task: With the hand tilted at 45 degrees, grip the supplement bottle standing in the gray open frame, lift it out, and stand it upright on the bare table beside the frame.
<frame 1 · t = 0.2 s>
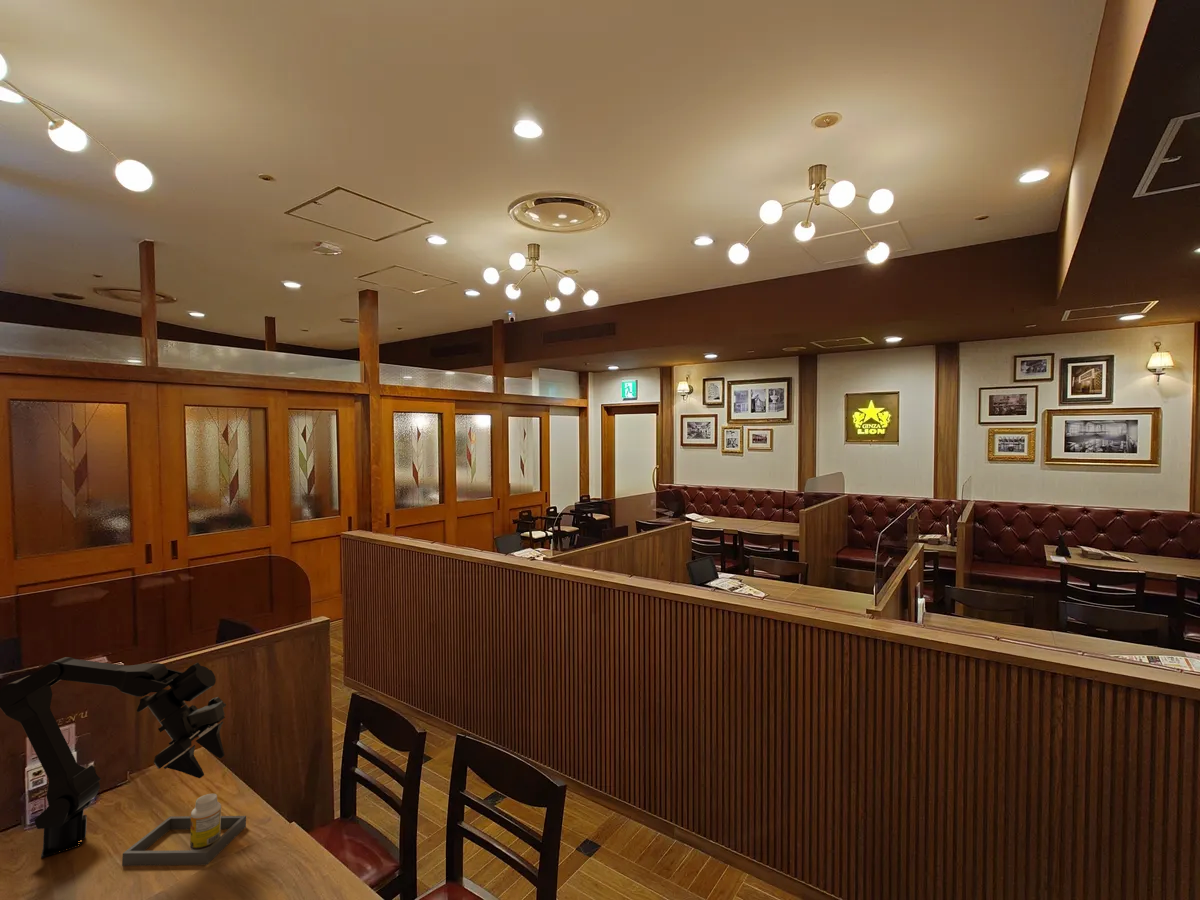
hand: (212, 766, 130), 14 cm above the table, tool tilted 35°, fingers open, 9 cm apart
supplement bottle: (205, 846, 124), resting in gray open frame
gray open frame: (187, 845, 124), on the table
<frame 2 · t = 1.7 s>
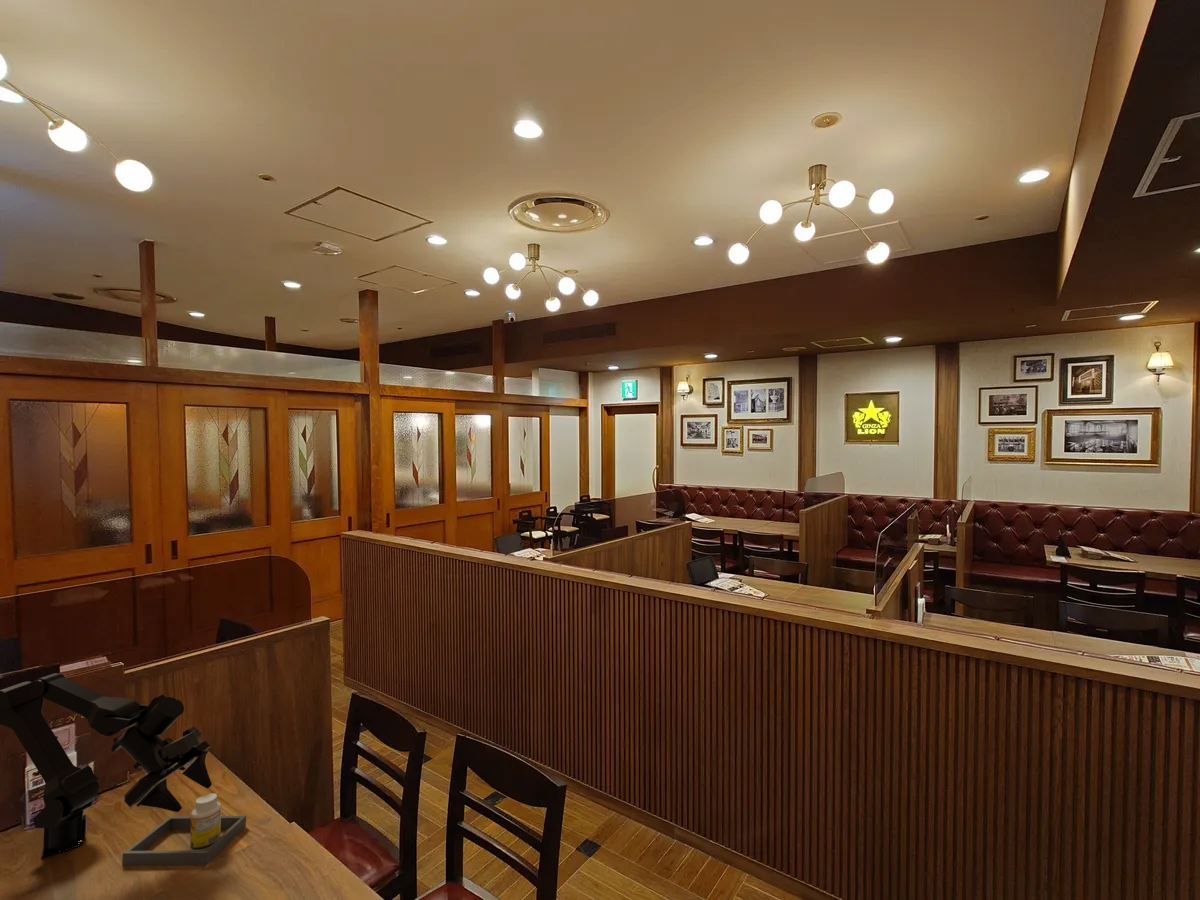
hand: (195, 798, 125), 10 cm above the table, tool tilted 45°, fingers open, 9 cm apart
nothing on the table moved.
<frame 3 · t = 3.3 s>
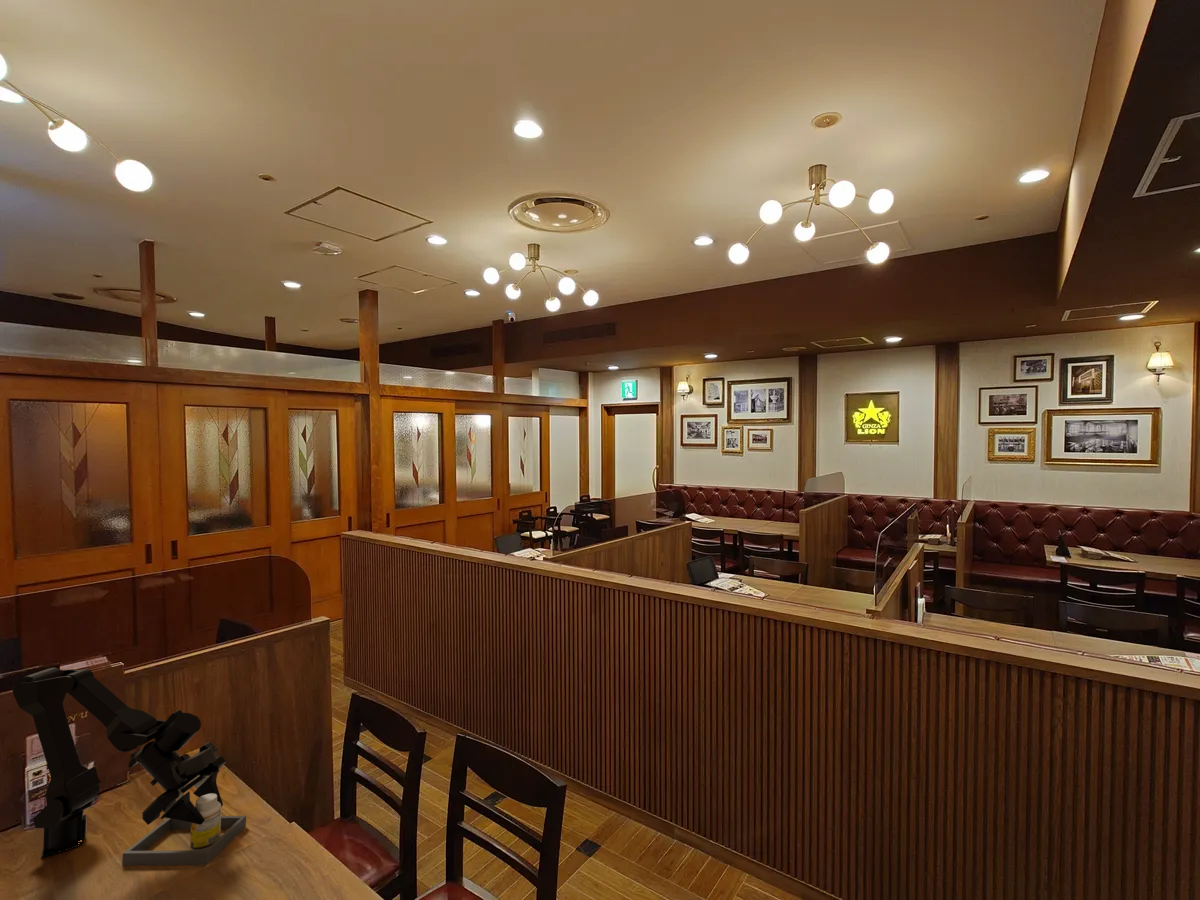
hand: (212, 814, 125), 7 cm above the table, tool tilted 45°, fingers closed on supplement bottle, 5 cm apart
supplement bottle: (205, 846, 124), resting in gray open frame, touching gripper
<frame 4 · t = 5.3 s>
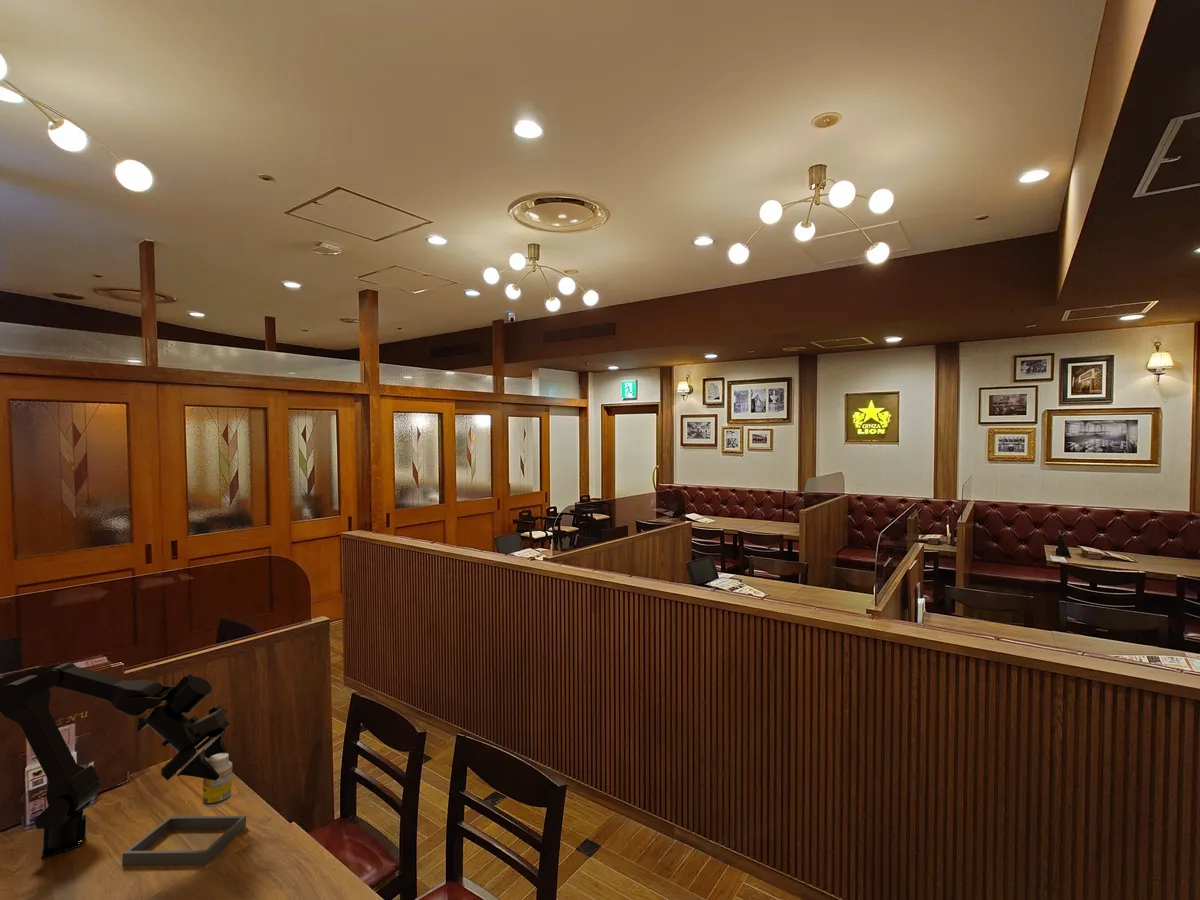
hand: (224, 771, 130), 13 cm above the table, tool tilted 45°, fingers closed on supplement bottle, 5 cm apart
supplement bottle: (216, 802, 130), point 6 cm above the table, touching gripper
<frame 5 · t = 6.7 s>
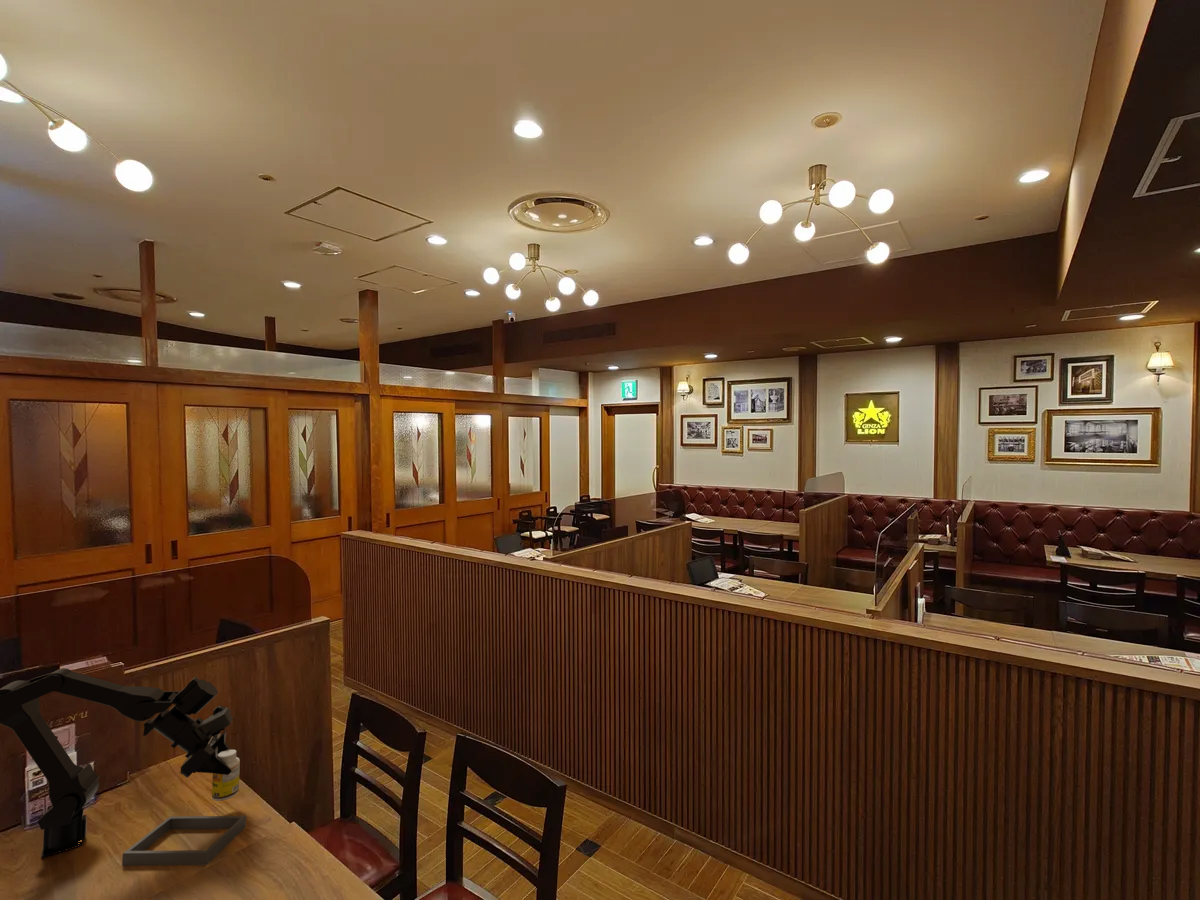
hand: (232, 767, 138), 11 cm above the table, tool tilted 45°, fingers closed on supplement bottle, 5 cm apart
supplement bottle: (225, 796, 137), point 4 cm above the table, touching gripper
when the fingers open (8 cm above the table, at t = 7.7 s): supplement bottle drops 1 cm, on the table.
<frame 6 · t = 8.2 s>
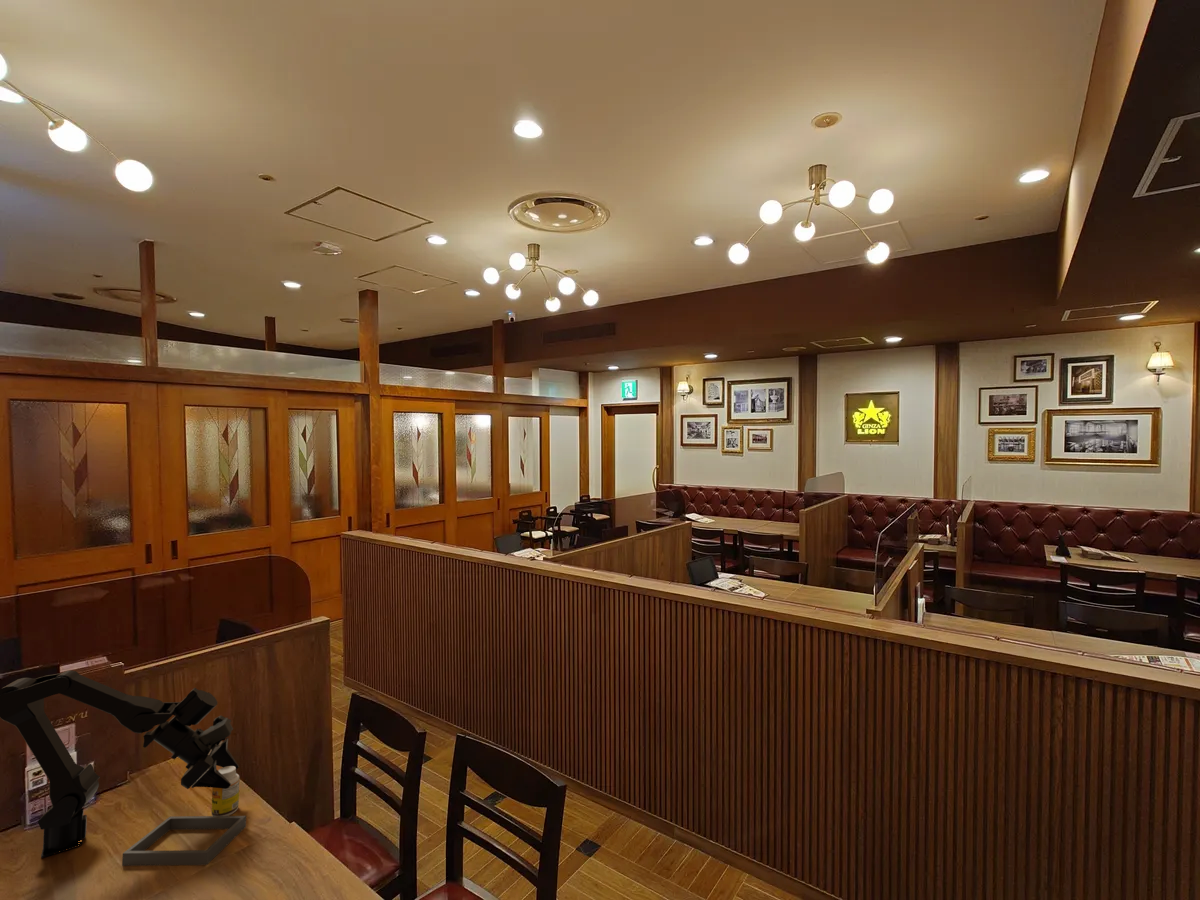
hand: (233, 777, 138), 8 cm above the table, tool tilted 45°, fingers open, 9 cm apart
supplement bottle: (224, 813, 137), on the table
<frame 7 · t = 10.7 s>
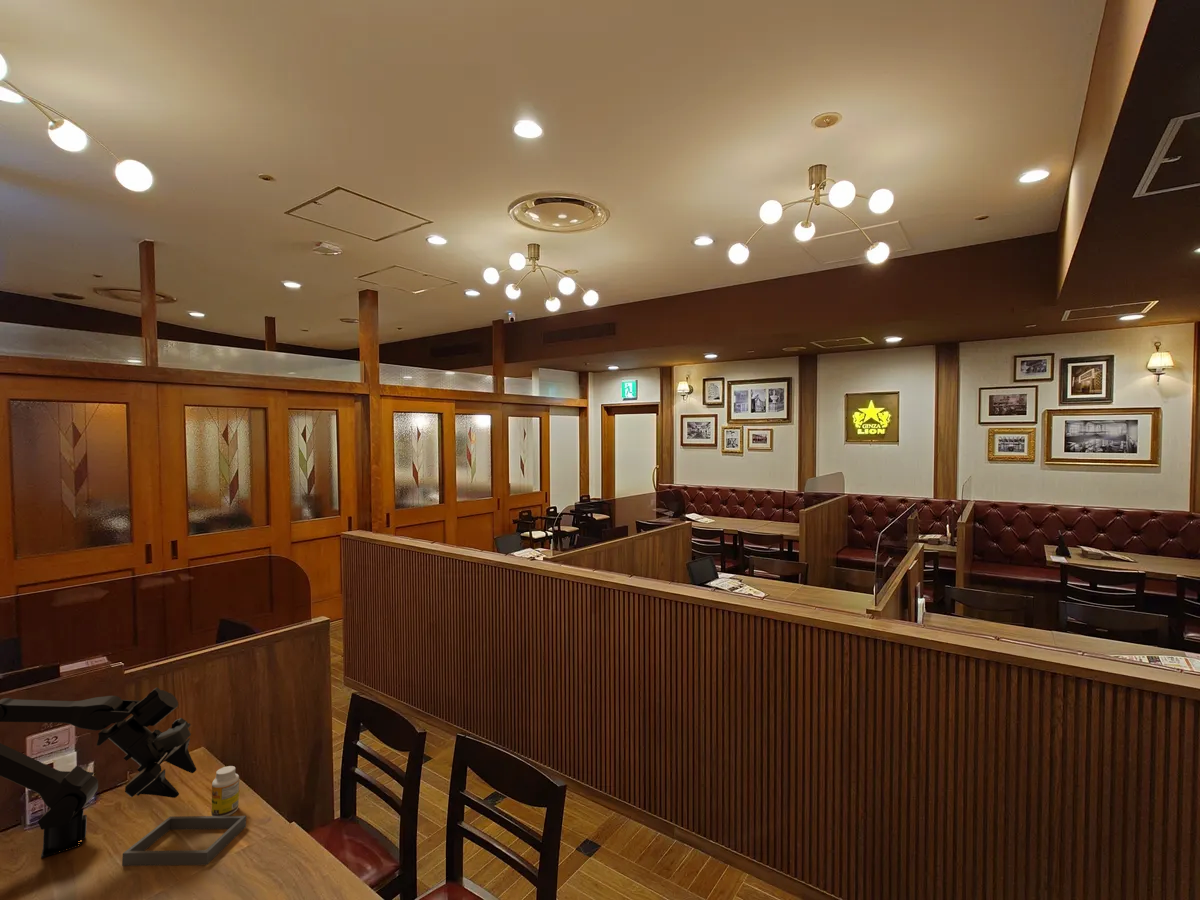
hand: (186, 783, 134), 9 cm above the table, tool tilted 40°, fingers open, 9 cm apart
nothing on the table moved.
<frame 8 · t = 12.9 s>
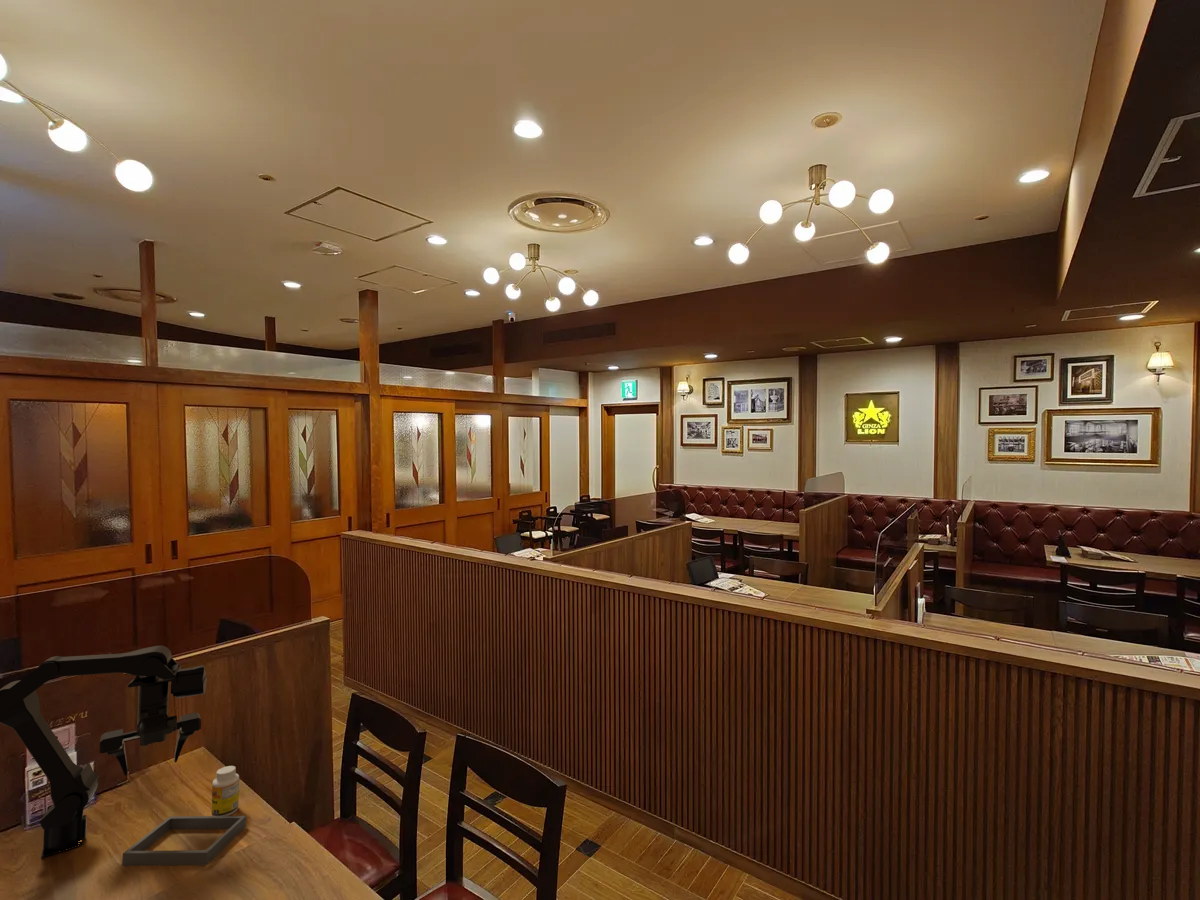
hand: (151, 768, 133), 13 cm above the table, tool pointing down, fingers open, 9 cm apart
nothing on the table moved.
at the end: supplement bottle inside the target area (0.3 cm from its centre), on the table; supplement bottle tilted 0°; supplement bottle touching table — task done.
